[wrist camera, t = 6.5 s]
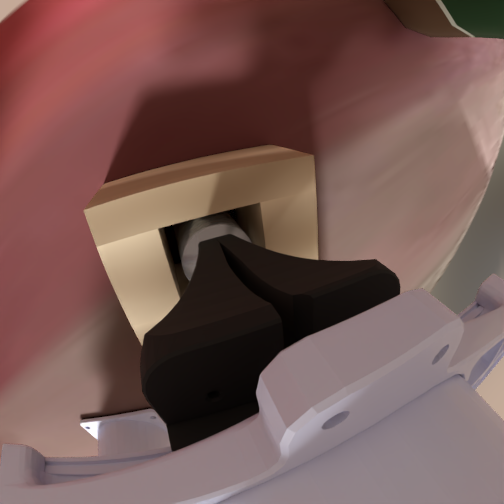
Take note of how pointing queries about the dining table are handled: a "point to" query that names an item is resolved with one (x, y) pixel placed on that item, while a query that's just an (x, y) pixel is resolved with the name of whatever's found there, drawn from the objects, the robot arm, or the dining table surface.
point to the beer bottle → (451, 17)
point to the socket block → (194, 206)
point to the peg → (203, 236)
